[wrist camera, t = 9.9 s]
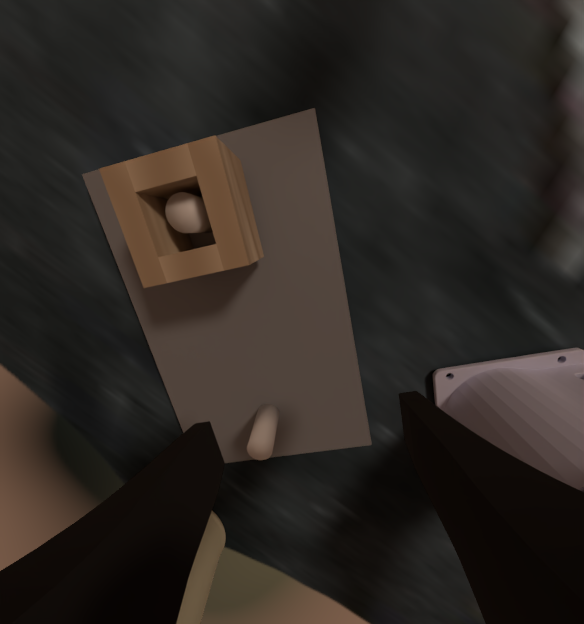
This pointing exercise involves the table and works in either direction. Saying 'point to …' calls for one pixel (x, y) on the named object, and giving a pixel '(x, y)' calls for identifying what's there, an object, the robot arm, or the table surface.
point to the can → (202, 572)
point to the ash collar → (194, 180)
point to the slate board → (257, 308)
